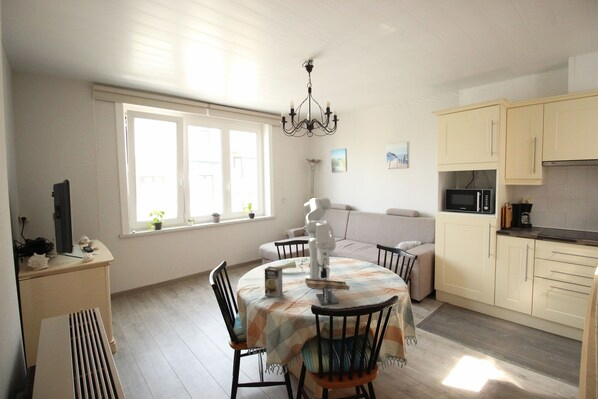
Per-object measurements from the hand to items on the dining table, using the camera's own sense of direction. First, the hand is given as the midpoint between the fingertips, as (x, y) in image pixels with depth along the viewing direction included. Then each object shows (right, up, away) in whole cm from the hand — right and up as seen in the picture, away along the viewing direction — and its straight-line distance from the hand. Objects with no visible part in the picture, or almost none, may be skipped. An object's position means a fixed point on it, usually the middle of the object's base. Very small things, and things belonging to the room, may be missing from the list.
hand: (322, 275), depth 162 cm
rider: (0, -1, 0) cm, 1 cm away
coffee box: (-29, -14, +9) cm, 33 cm away
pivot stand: (+3, -14, +1) cm, 14 cm away
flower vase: (-18, -11, +49) cm, 53 cm away
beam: (+2, -6, 0) cm, 6 cm away
